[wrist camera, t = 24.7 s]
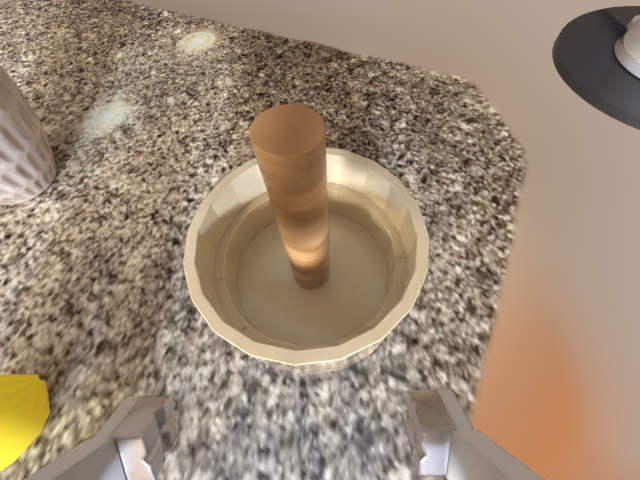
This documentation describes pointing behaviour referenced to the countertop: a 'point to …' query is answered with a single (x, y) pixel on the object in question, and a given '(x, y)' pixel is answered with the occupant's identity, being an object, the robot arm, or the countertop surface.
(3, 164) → the vase
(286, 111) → the stick
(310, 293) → the bowl
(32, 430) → the lemon
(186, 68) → the countertop surface
